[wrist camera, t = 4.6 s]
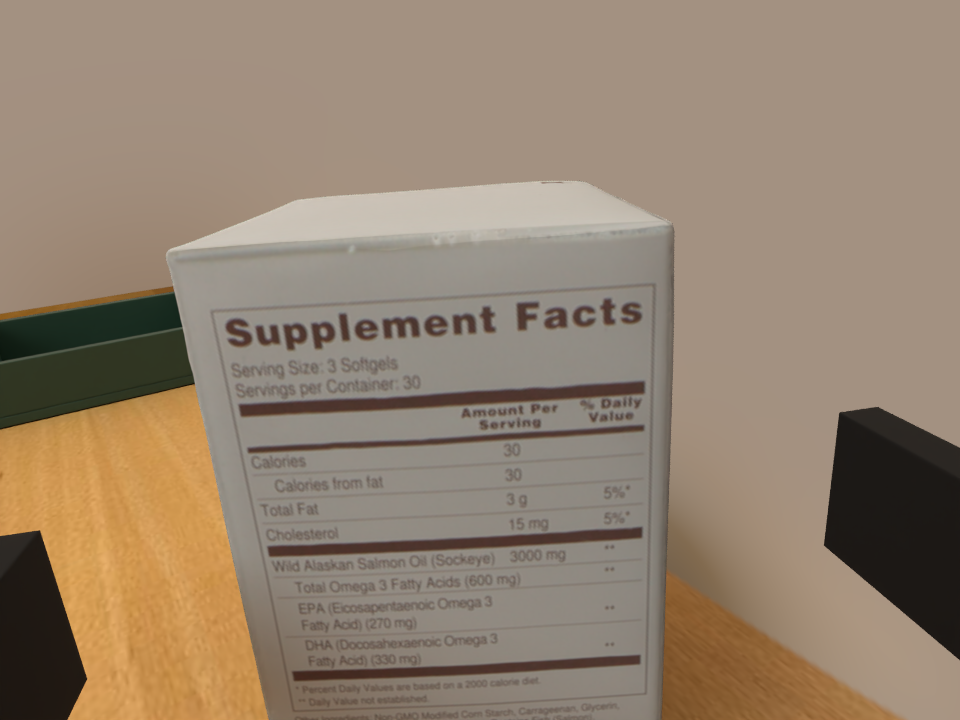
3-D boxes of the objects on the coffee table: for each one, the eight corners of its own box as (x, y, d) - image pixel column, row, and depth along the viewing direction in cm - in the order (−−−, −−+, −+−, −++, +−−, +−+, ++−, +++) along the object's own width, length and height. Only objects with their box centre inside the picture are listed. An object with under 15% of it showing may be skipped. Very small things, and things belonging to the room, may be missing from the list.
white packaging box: (357, 624, 20) (292, 194, 16) (604, 612, 20) (600, 174, 16) (289, 886, 13) (144, 241, 9) (668, 871, 13) (691, 205, 9)
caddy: (232, 374, 43) (222, 321, 42) (-12, 431, 37) (-32, 370, 36) (191, 333, 54) (182, 290, 53) (-5, 372, 47) (-20, 323, 46)
